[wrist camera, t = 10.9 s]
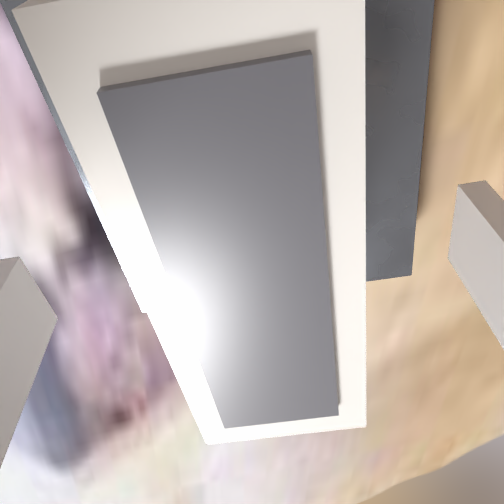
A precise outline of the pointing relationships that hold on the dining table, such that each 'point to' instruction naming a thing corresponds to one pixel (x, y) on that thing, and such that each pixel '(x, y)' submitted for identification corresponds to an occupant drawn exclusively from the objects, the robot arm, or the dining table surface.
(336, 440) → the dining table surface
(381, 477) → the dining table surface
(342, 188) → the white-framed grey panel
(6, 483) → the dining table surface
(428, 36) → the dark grey plate
